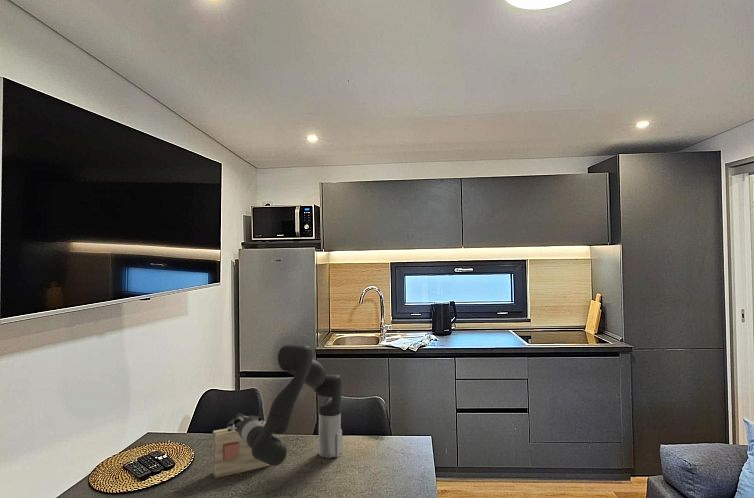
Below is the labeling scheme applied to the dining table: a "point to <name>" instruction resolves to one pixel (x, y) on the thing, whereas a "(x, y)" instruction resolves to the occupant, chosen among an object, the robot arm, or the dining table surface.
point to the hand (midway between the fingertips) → (238, 416)
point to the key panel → (235, 464)
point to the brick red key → (230, 450)
